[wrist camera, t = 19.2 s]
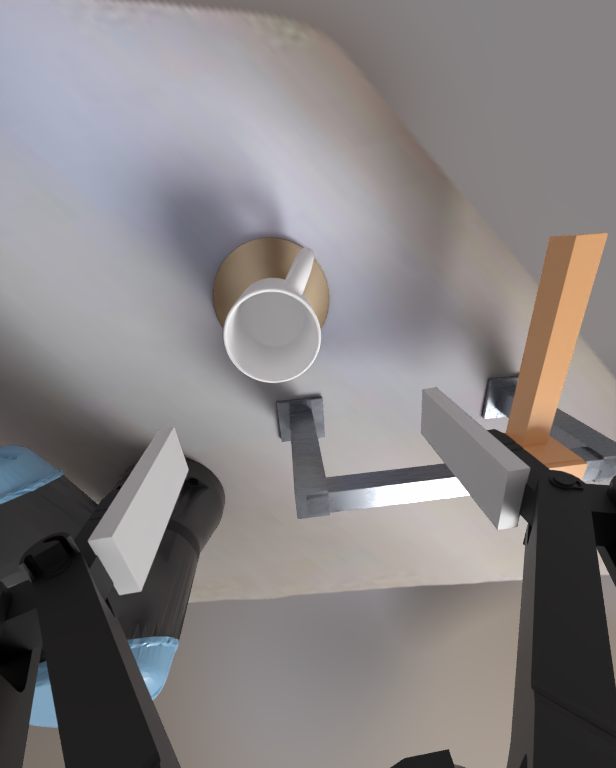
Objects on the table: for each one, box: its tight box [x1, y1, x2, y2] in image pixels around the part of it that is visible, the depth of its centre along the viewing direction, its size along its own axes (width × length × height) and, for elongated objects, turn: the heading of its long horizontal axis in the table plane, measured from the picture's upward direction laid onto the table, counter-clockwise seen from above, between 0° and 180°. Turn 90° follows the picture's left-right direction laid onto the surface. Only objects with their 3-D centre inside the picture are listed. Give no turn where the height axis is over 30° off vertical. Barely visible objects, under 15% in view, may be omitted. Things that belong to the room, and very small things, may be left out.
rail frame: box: [277, 376, 616, 519], centre depth 36 cm, size 35×6×16 cm, turn 94°
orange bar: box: [504, 233, 608, 480], centre depth 27 cm, size 5×23×6 cm, turn 4°
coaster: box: [213, 238, 329, 329], centre depth 35 cm, size 13×13×1 cm
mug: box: [223, 247, 321, 383], centre depth 30 cm, size 12×8×10 cm
